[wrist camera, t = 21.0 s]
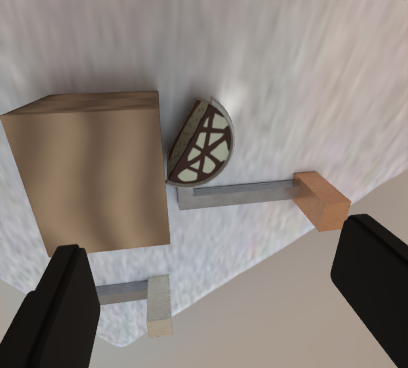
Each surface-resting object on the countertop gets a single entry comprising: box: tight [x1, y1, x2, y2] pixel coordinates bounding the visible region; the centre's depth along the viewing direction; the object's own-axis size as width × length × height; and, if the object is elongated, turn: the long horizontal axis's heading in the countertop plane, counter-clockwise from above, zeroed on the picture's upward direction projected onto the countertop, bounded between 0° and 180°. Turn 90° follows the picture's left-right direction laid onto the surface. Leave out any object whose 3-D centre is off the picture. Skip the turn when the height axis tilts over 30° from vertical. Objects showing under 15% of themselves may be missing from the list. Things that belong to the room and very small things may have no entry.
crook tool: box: [177, 172, 351, 232], centre depth 42 cm, size 25×12×10 cm, turn 91°
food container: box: [165, 97, 235, 188], centre depth 38 cm, size 12×6×10 cm, turn 150°
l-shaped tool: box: [96, 275, 172, 338], centre depth 49 cm, size 18×4×10 cm, turn 91°
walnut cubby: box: [0, 91, 170, 257], centre depth 35 cm, size 14×17×13 cm
